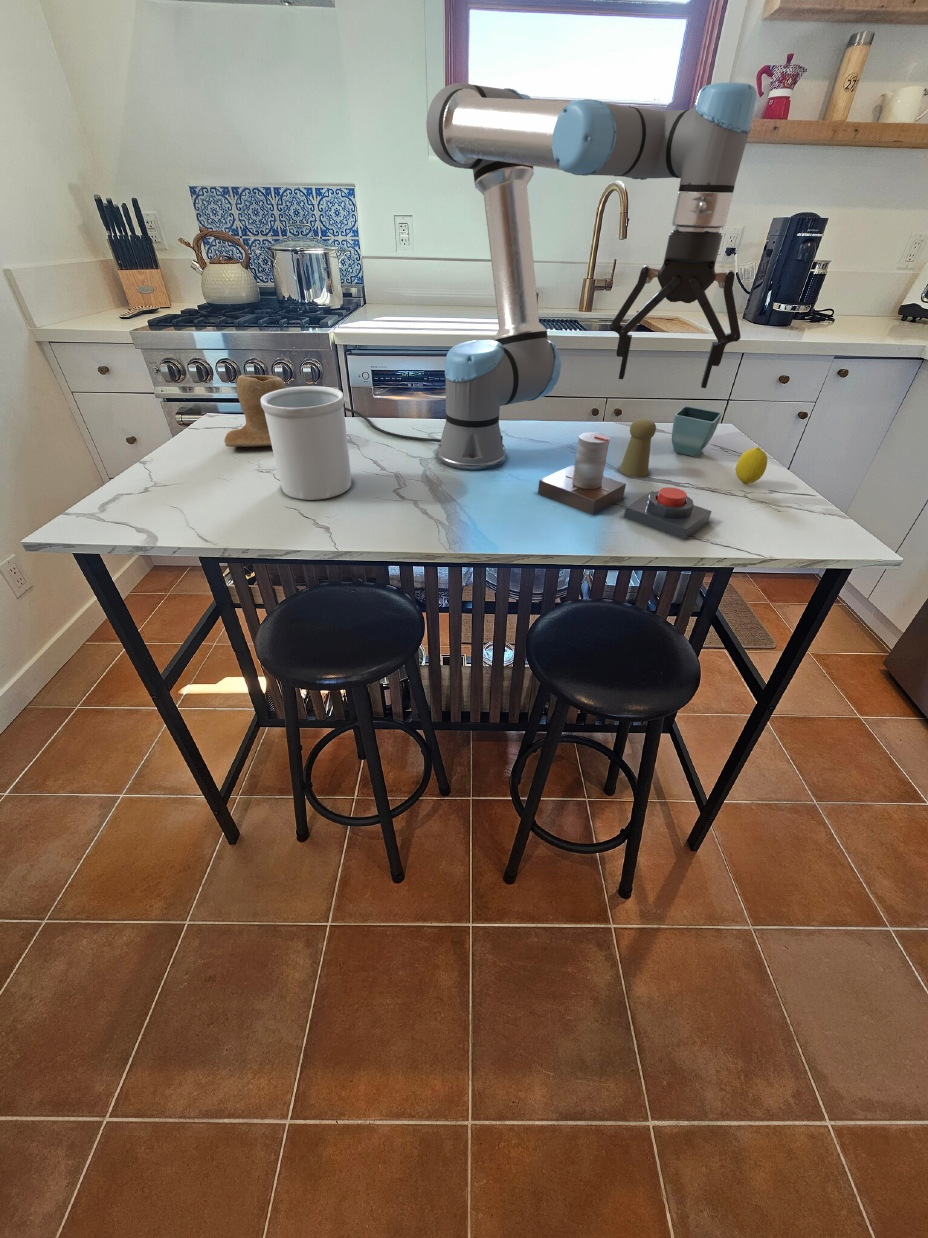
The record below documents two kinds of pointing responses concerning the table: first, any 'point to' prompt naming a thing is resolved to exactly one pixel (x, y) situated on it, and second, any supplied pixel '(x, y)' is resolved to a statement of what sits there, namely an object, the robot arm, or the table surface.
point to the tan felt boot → (253, 411)
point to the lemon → (751, 465)
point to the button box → (667, 515)
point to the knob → (590, 460)
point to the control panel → (580, 491)
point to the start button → (672, 496)
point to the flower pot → (693, 429)
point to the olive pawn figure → (638, 448)
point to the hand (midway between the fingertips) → (661, 381)
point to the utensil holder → (309, 440)
